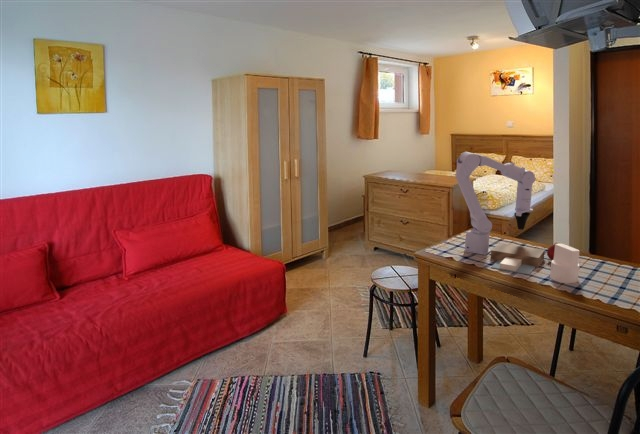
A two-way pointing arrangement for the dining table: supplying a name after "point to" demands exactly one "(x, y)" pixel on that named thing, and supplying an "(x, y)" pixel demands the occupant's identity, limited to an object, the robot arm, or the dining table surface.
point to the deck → (518, 254)
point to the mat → (522, 269)
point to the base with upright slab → (565, 264)
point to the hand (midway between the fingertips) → (520, 229)
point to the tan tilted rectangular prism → (510, 263)
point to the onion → (551, 251)
